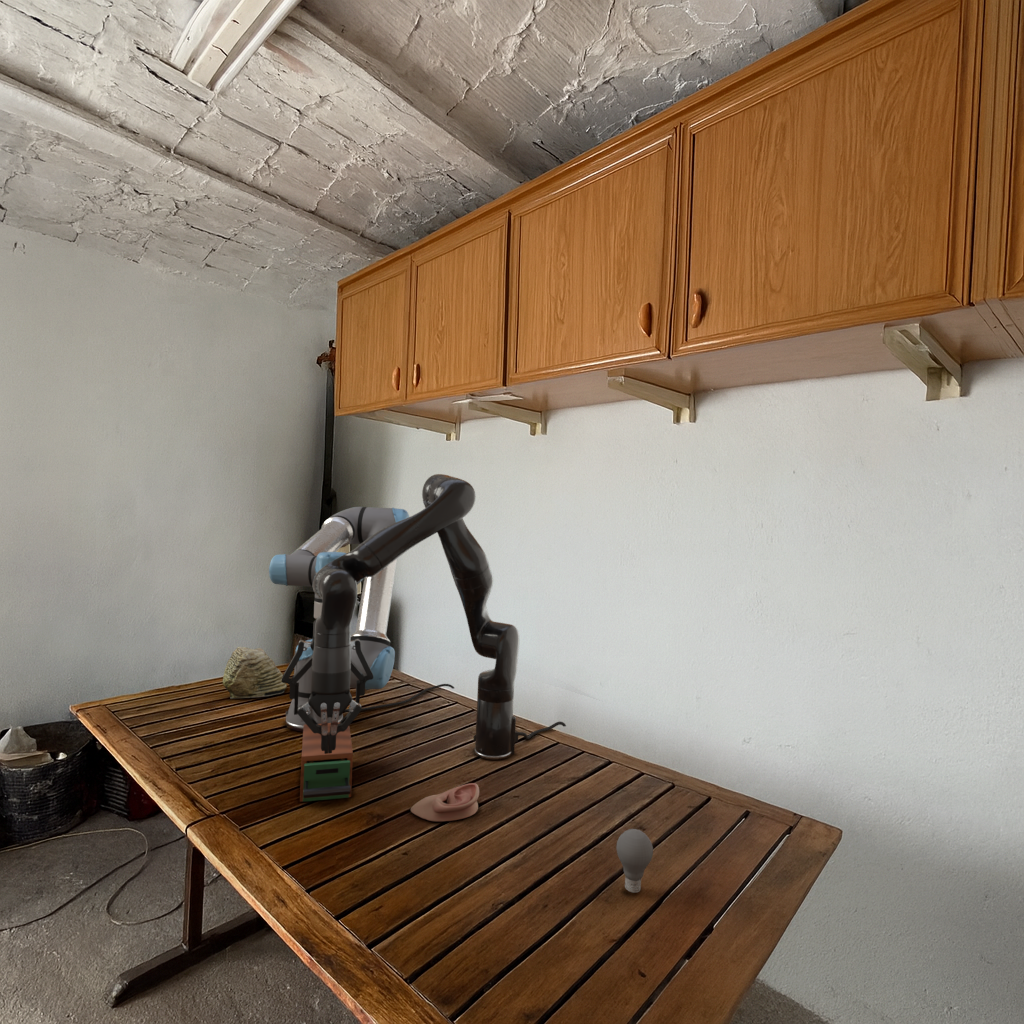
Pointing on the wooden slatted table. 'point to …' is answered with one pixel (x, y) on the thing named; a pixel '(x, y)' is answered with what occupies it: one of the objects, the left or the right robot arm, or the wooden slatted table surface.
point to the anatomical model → (449, 804)
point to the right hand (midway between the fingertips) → (328, 752)
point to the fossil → (252, 674)
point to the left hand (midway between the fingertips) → (326, 711)
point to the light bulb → (634, 857)
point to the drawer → (326, 779)
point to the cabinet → (314, 752)
